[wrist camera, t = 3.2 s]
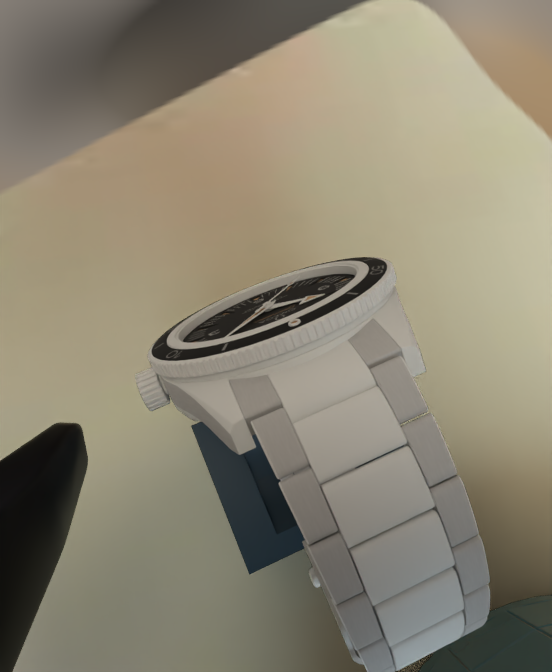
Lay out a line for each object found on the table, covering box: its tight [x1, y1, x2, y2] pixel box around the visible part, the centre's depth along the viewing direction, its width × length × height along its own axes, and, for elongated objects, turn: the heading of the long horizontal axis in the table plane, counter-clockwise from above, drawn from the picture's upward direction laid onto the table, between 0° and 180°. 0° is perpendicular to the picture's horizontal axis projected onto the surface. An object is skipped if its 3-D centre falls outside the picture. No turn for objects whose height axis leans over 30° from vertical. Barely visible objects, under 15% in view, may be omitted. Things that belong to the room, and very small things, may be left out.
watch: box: [135, 257, 490, 672], centre depth 12 cm, size 6×8×11 cm
